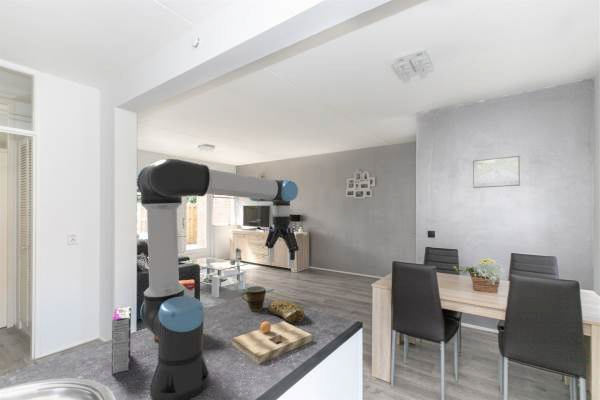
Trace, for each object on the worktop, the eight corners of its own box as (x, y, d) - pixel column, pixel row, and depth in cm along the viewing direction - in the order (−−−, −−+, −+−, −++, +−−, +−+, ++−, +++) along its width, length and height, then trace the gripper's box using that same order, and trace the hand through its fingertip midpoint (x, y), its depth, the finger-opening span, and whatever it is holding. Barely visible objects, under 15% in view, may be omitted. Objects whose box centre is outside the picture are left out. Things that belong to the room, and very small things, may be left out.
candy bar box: (113, 358, 95) (114, 308, 96) (130, 354, 98) (131, 306, 98) (110, 375, 85) (111, 319, 86) (129, 370, 88) (131, 316, 88)
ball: (264, 335, 107) (264, 324, 107) (258, 332, 110) (258, 321, 110) (272, 332, 110) (273, 322, 110) (266, 329, 113) (266, 319, 113)
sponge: (307, 324, 128) (291, 301, 146) (306, 308, 126) (290, 287, 144) (279, 333, 123) (266, 309, 141) (277, 318, 121) (265, 295, 140)
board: (258, 363, 92) (258, 356, 92) (232, 345, 105) (232, 338, 105) (311, 341, 109) (311, 334, 109) (283, 327, 121) (283, 321, 121)
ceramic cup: (259, 304, 150) (259, 285, 150) (269, 309, 142) (269, 289, 142) (236, 309, 142) (236, 289, 142) (246, 315, 134) (246, 294, 134)
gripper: (307, 216, 117) (307, 268, 116) (271, 215, 136) (270, 260, 135) (293, 216, 112) (293, 271, 111) (257, 215, 131) (257, 261, 130)
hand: (280, 265), depth 123 cm, fingers open, 13 cm apart
